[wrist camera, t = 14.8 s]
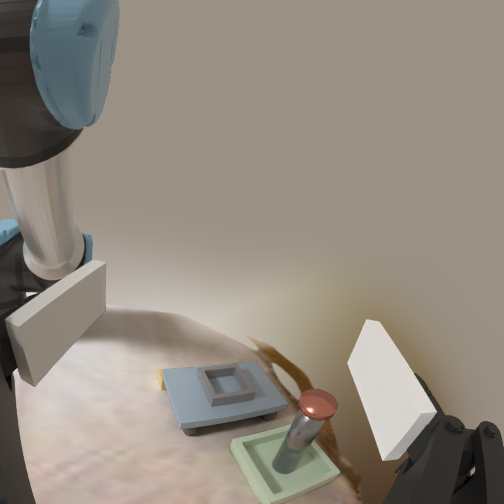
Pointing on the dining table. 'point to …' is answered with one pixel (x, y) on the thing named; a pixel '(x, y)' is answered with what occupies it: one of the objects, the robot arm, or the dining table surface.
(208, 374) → the cart
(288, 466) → the pin
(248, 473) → the tray
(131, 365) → the dining table surface
